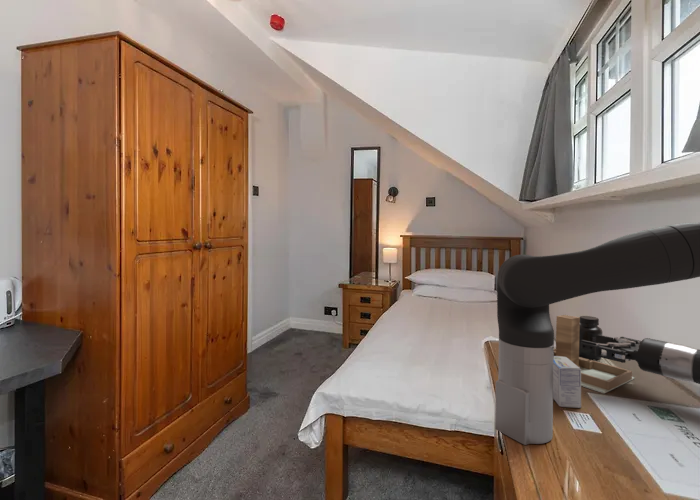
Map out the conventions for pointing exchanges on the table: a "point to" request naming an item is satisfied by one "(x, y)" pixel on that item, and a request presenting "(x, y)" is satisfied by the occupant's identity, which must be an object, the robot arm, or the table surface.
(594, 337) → the supplement bottle
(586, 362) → the keyhole board
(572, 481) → the table surface
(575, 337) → the walnut keyhole peg
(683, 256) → the robot arm
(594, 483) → the table surface
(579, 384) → the medicine box
